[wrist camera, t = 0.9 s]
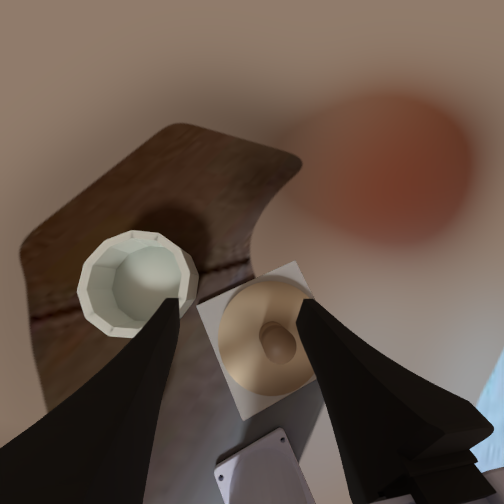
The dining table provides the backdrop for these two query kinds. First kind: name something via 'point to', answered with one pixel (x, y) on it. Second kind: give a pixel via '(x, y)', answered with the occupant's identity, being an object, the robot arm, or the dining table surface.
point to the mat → (211, 319)
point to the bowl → (134, 281)
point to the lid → (264, 339)
